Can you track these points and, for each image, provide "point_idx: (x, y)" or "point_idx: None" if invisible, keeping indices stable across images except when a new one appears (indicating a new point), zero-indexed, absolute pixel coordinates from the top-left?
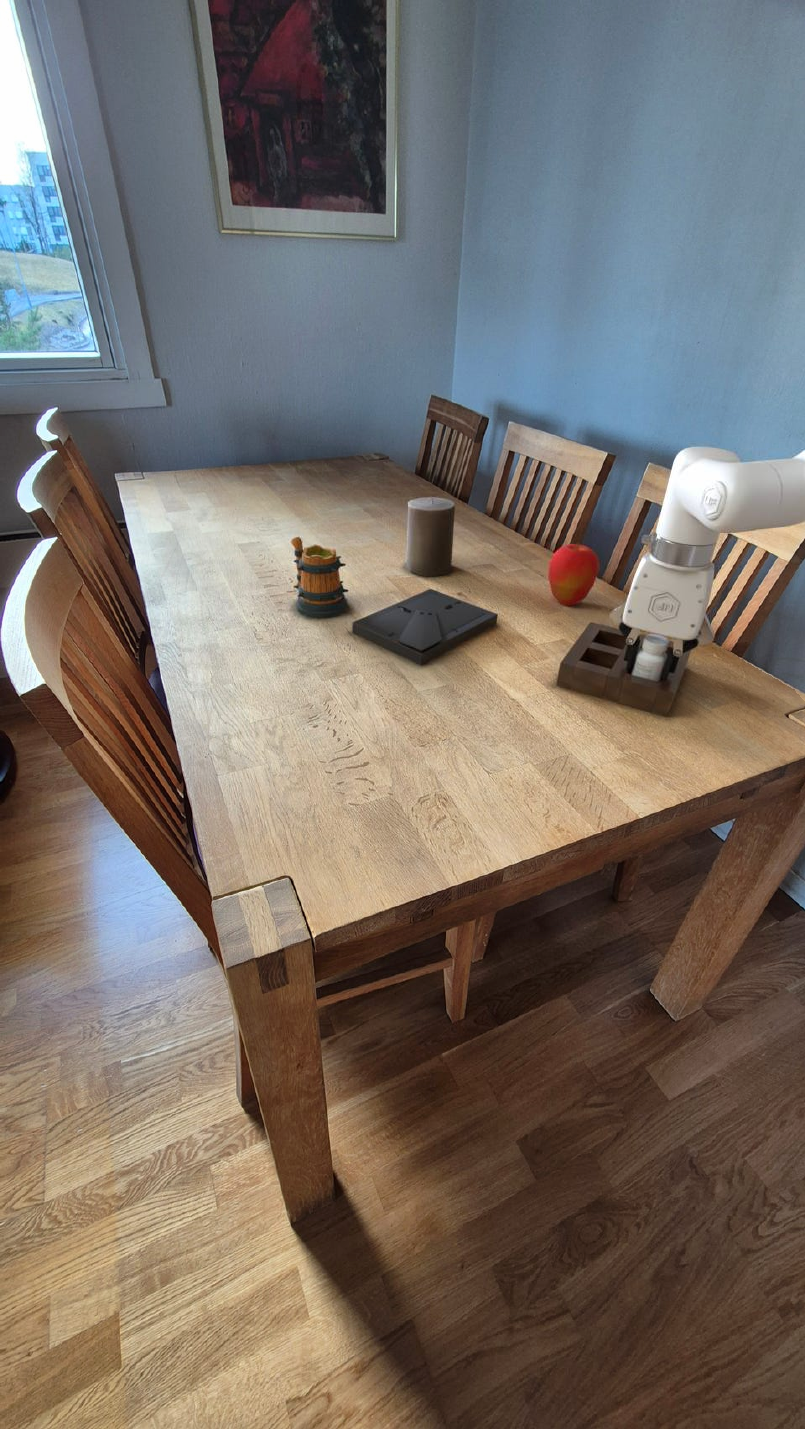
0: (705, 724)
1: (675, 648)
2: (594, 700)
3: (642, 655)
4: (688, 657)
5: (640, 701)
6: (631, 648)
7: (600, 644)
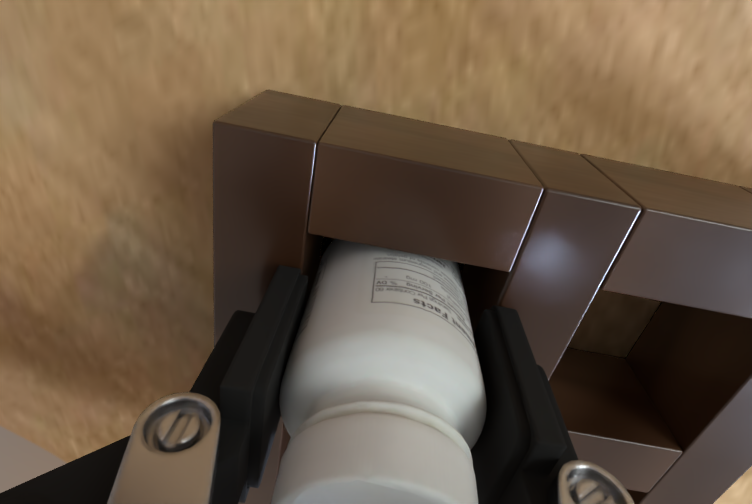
0: (94, 92)
1: (193, 461)
2: (623, 123)
3: (456, 381)
4: None
5: (403, 126)
6: (556, 427)
7: None
